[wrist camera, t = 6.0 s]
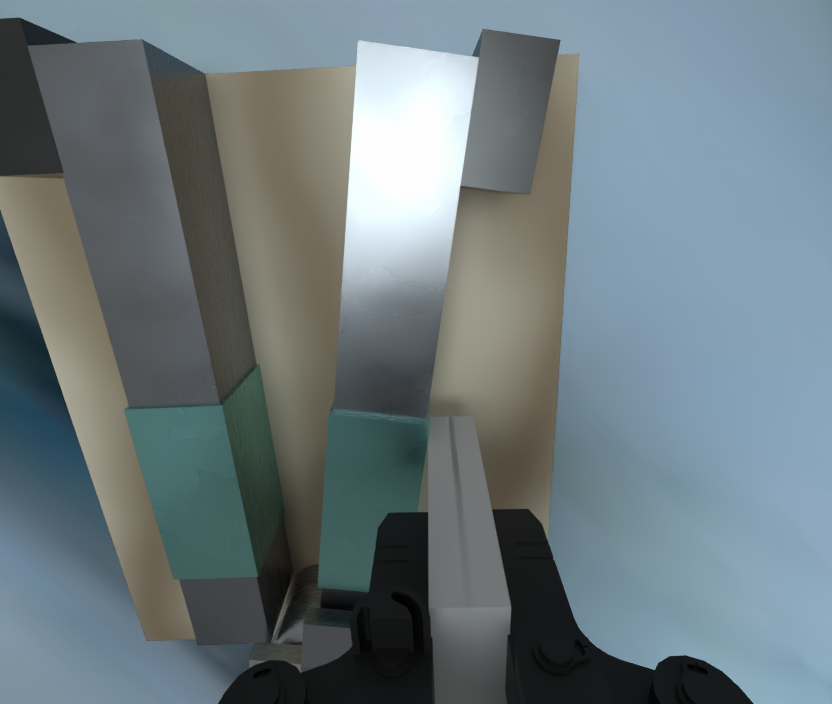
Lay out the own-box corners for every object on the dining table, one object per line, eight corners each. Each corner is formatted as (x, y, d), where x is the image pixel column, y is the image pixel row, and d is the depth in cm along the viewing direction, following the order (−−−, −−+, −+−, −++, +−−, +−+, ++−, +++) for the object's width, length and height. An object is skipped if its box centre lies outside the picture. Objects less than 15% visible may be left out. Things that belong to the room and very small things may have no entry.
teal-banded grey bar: (205, 620, 19) (164, 703, 16) (53, 60, 12) (-71, 16, 9) (361, 614, 19) (350, 698, 16) (295, 47, 12) (253, -2, 9)
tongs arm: (282, 622, 19) (249, 727, 15) (299, 43, 12) (246, -23, 8) (427, 635, 19) (429, 742, 15) (527, 75, 12) (575, 24, 8)
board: (161, 616, 21) (146, 640, 20) (-3, 96, 14) (-42, 87, 12) (535, 604, 20) (542, 628, 19) (565, 65, 13) (579, 53, 12)
